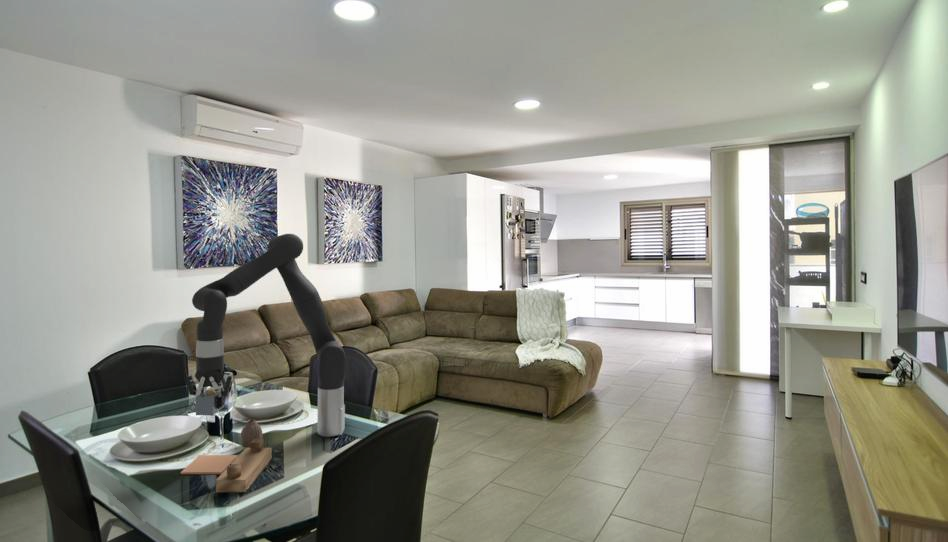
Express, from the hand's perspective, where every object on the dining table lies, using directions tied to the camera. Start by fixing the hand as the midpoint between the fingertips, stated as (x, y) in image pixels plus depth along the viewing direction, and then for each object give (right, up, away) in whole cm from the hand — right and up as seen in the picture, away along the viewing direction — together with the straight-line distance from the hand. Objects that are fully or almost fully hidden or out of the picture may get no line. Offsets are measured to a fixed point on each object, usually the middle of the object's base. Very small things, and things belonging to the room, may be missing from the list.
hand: (210, 407), depth 156 cm
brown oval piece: (+5, -18, +17) cm, 25 cm away
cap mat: (-1, -18, +1) cm, 18 cm away
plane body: (+13, -19, -4) cm, 23 cm away
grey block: (0, -1, 0) cm, 1 cm away
